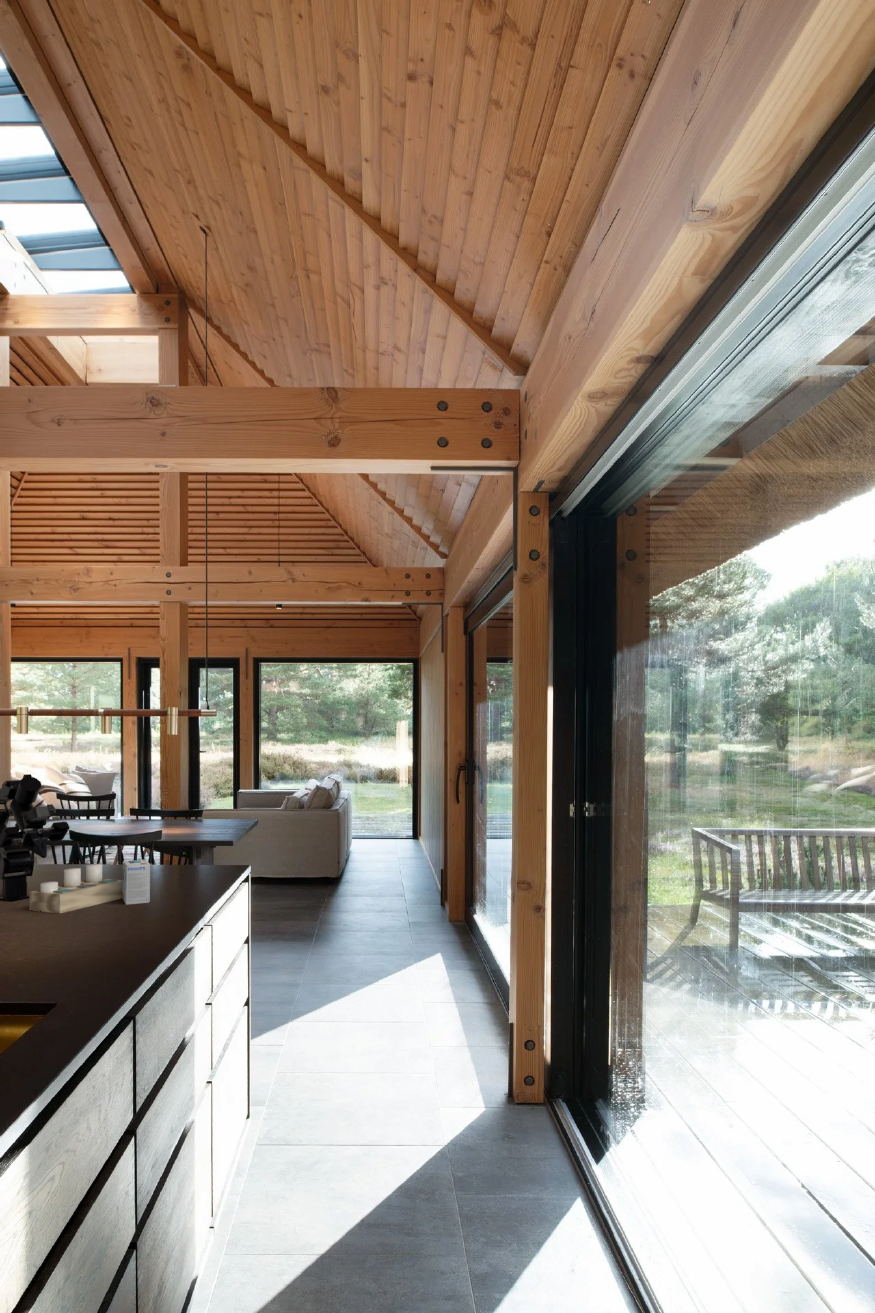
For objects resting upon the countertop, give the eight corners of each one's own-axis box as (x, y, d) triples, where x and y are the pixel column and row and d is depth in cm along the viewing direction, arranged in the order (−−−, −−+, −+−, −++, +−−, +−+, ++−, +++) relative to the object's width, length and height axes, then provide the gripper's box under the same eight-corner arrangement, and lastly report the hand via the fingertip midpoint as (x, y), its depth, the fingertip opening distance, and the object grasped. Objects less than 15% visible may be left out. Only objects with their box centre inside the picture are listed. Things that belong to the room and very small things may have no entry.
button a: (36, 909, 252) (36, 883, 253) (49, 906, 256) (50, 881, 256) (48, 911, 250) (48, 884, 251) (61, 908, 254) (61, 882, 255)
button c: (82, 890, 267) (82, 865, 267) (94, 887, 271) (94, 863, 271) (93, 891, 265) (94, 866, 265) (105, 888, 269) (105, 864, 269)
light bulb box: (121, 898, 266) (121, 860, 267) (145, 896, 269) (146, 859, 270) (125, 905, 257) (126, 865, 258) (151, 902, 260) (151, 863, 260)
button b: (60, 895, 259) (60, 870, 260) (72, 892, 263) (72, 867, 264) (71, 896, 257) (71, 870, 258) (84, 893, 261) (84, 868, 262)
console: (29, 910, 251) (29, 890, 252) (94, 895, 272) (94, 877, 272) (59, 913, 246) (60, 893, 247) (123, 898, 267) (123, 879, 267)
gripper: (3, 798, 255) (22, 841, 247) (66, 793, 269) (87, 834, 262) (-11, 825, 259) (7, 869, 252) (52, 819, 274) (71, 860, 266)
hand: (44, 857), depth 258 cm, fingers closed
